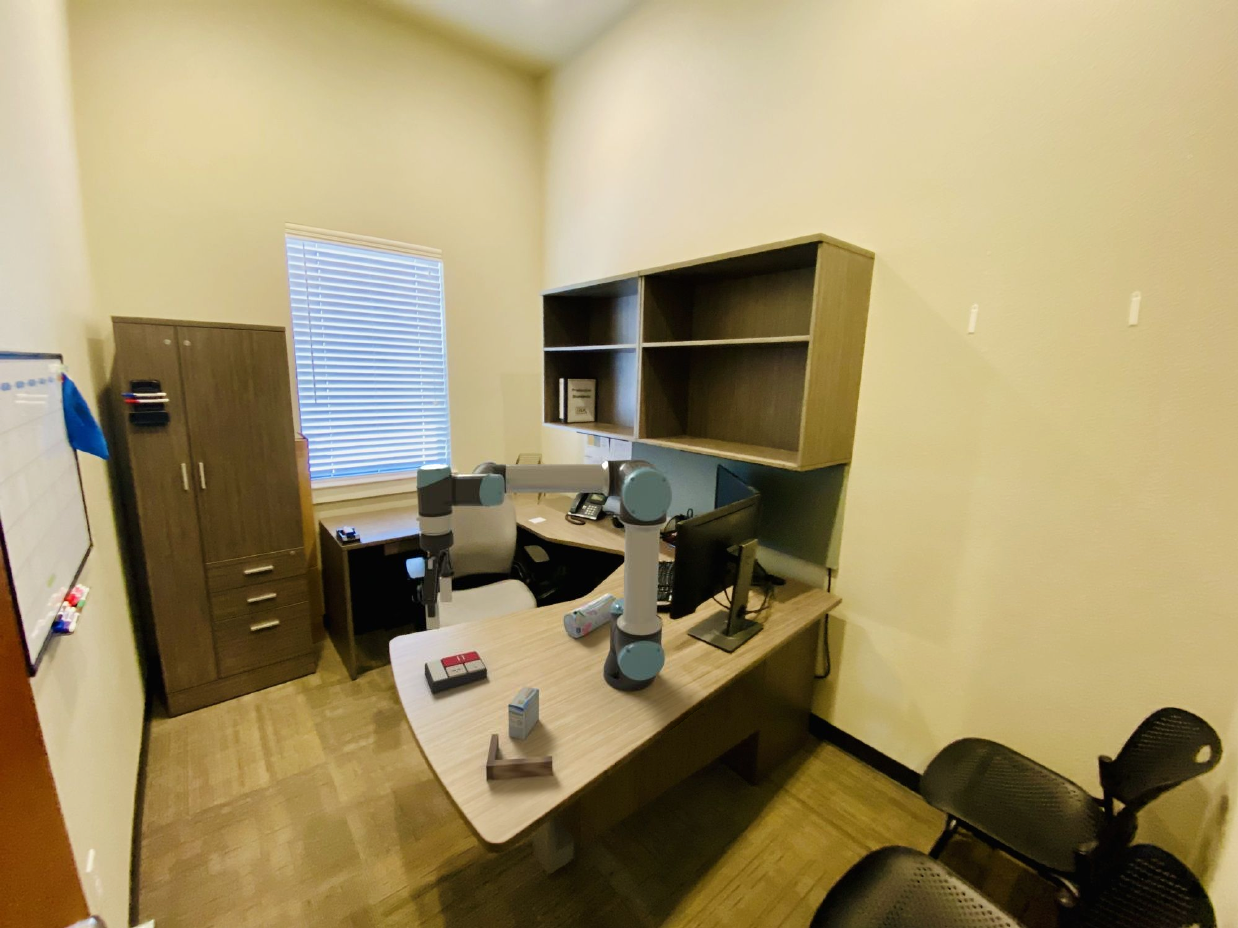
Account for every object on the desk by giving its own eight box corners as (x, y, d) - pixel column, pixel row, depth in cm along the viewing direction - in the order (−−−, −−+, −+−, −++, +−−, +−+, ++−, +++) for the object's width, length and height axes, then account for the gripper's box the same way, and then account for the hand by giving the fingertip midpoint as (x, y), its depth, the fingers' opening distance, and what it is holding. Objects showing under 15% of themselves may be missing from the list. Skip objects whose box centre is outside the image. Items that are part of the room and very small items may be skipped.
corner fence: (552, 743, 116) (552, 729, 116) (552, 775, 107) (552, 761, 107) (492, 747, 115) (491, 734, 114) (486, 780, 105) (486, 765, 105)
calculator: (487, 667, 140) (432, 680, 132) (487, 681, 141) (432, 695, 133) (476, 648, 149) (424, 660, 141) (476, 661, 150) (424, 674, 142)
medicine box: (523, 715, 126) (523, 684, 124) (539, 719, 125) (539, 688, 123) (508, 736, 118) (507, 704, 117) (524, 740, 117) (524, 708, 116)
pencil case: (578, 643, 160) (578, 616, 159) (560, 633, 166) (560, 607, 164) (620, 620, 176) (621, 595, 174) (603, 612, 181) (603, 588, 180)
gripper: (432, 515, 127) (436, 592, 131) (403, 549, 103) (408, 642, 107) (462, 515, 128) (465, 591, 132) (440, 548, 104) (444, 640, 108)
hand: (440, 614), depth 119 cm, fingers open, 13 cm apart
